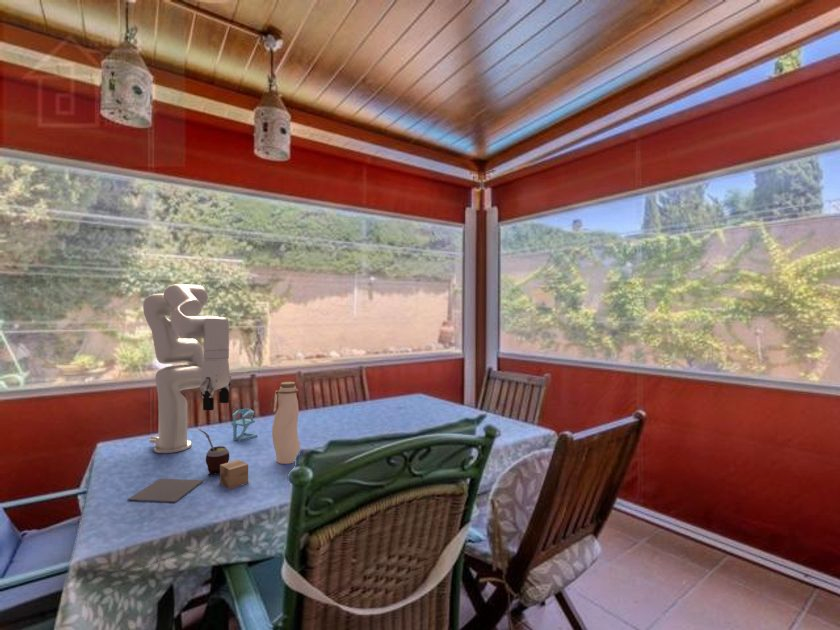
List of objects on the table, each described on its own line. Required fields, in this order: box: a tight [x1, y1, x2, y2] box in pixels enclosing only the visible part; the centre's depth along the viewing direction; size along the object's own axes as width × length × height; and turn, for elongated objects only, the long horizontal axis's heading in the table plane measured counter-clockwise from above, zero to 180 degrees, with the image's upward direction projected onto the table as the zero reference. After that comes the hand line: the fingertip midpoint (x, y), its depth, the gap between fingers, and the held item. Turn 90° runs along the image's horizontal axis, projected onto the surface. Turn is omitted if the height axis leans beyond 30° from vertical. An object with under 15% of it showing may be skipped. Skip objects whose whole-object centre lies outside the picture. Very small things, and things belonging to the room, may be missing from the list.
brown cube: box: [219, 459, 249, 490], centre depth 133 cm, size 6×6×6 cm
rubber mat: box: [127, 478, 204, 503], centre depth 127 cm, size 14×14×1 cm
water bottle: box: [270, 381, 301, 465], centre depth 152 cm, size 10×9×28 cm
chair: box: [231, 407, 258, 442], centre depth 176 cm, size 8×8×12 cm
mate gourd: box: [198, 428, 230, 477], centre depth 140 cm, size 8×8×15 cm
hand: (216, 406), depth 140 cm, fingers open, 9 cm apart
